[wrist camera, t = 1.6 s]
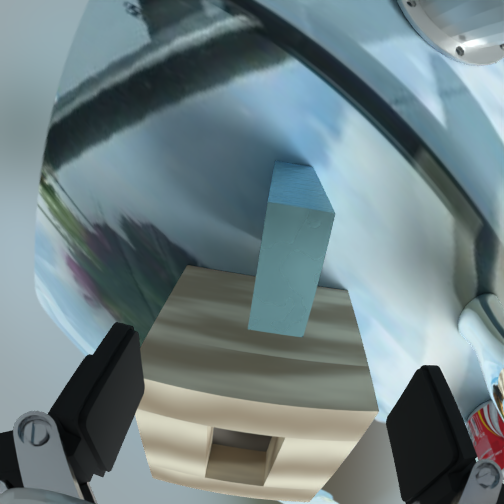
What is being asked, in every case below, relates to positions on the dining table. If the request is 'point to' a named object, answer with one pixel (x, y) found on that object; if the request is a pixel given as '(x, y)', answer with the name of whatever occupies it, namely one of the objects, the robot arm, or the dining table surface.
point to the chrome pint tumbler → (487, 342)
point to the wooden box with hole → (251, 392)
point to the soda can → (487, 433)
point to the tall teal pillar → (291, 250)
